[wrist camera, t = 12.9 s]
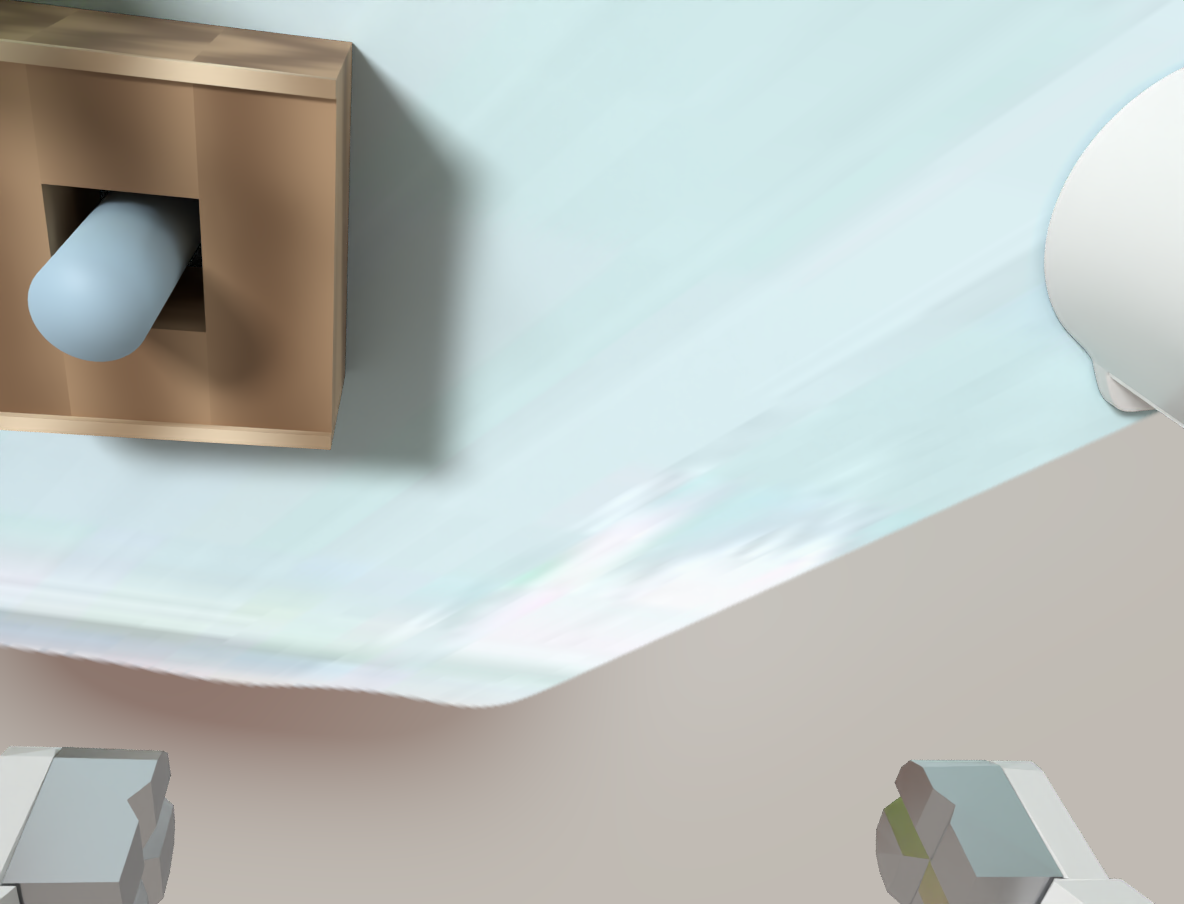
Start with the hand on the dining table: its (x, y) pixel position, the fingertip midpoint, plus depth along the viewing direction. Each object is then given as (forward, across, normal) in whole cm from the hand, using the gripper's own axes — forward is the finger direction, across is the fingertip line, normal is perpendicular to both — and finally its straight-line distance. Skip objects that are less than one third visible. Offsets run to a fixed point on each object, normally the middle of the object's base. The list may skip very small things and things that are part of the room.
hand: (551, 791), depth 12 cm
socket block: (+34, +12, +6) cm, 37 cm away
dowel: (+34, +12, +6) cm, 37 cm away
